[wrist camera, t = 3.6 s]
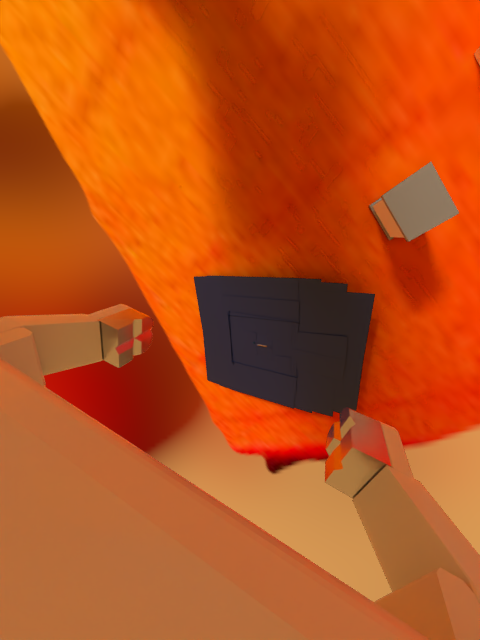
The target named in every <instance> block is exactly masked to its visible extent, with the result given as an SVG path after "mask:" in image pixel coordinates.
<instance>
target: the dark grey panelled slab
mask: <svg viewBox="0 0 480 640" xmlns="http://www.w3.org/2000/svg"><path fill="white" fill-rule="evenodd" d="M194 281H195V287H196V293H197V299H198V305H199V311H200V317H201V323H202V329H203V336H204V347H205V357H206V368H207V379H208V381H211V382H214V383H217V384H219V385H221V386H224V387H227V388H230V389H232V390H235V391H238V392H242V393H245V394H248V395H252V396H255V397H258V398H261V399H265V400H268V401H271V402H274V403H278V404H281V405H284V406H287V407H291V408H297V409H300V410H304V411H307V412H310V413H312V411H314V412H317V413H321V414H325V415H328V416H332V417H333V411H335V412H338V413H341V412H342V410H343V409H344V408H345V407H348V408H350V409H352V410H354V411H356V409H357V401H358V394H359V387H360V379H361V372H362V365H363V359H364V353H365V348H366V342H367V336H368V331H369V325H370V319H371V314H372V308H373V303H374V297H375V294H368V293H352V292H347V285H348V284H343V283H326V282H321V279H304V278H275V277H235V276H205V277H194Z"/></svg>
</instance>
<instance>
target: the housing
mask: <svg viewBox="0 0 480 640" xmlns="http://www.w3.org/2000/svg"><path fill="white" fill-rule="evenodd" d="M369 208H370V209H371V211H372V213H373V214H374V216H375V218H376V219H377V221H378V223H379V225H380V226H381V228H382V230H383V231H384V233H385V235H386V237H387V238H388V240H391V239H393V238H395V237H401V238H405V240H406V241H407V242H409V241H411V240H412V239H414V238H416V237H418V236H420V235H421V234H423V233H425V232H427V231H428V230H430V229H432V228H434V227H436V226H437V225H439V224H441V223H443V222H444V221H446V220H448V219H450V218H452V217H453V216H455V215H457V214H459V212H458V210H457V208H456V206H455V205H454V203H453V201H452V199H451V197H450V195H449V194H448V192H447V190H446V188H445V186H444V184H443V183H442V181H441V179H440V177H439V175H438V173H437V172H436V170H435V168H434V166H433V164H432V162H430V163H428V164H427V165H426V166H424V167H423V168H421V169H420V170H418V171H417V172H415V173H414V174H413V175H411V176H410V177H408V178H407V179H405V180H404V181H402V182H401V183H400V184H398V185H397V186H395V187H394V188H392V189H391V190H389V191H388V192H387V193H385V194H384V195H382V196H381V198H380V199H378V200H377V201H375V202H374V203H373V204H371V205H370V206H369Z"/></svg>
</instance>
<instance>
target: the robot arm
mask: <svg viewBox="0 0 480 640" xmlns="http://www.w3.org/2000/svg"><path fill="white" fill-rule="evenodd" d="M152 327H153V319H152V318H151V317H149V316H147V315H145V314H143V313H141V312H139V311H137V310H135V309H132V308H131V307H129V306H127V305H123V304H119V305H116V306H113V307H110V308H107V309H104V310H101V311H98V312H95V313H92V314H89V315H86V314H62V315H31V316H6V317H2V318H0V640H480V555H479V554H478V553H477V552H476V550H475V549H474V548H473V547H472V545H471V544H470V543H469V542H468V540H467V539H466V538H465V537H464V536H463V534H462V533H461V532H460V531H459V529H458V528H457V527H456V526H455V525H454V523H453V522H452V521H451V520H450V518H449V517H448V516H447V515H446V513H445V512H444V511H443V510H442V508H441V507H440V506H439V505H438V504H437V502H436V501H435V500H434V499H433V497H432V496H431V495H430V494H429V492H428V491H427V490H426V489H425V487H423V485H422V484H421V483H420V481H418V480H416V479H414V478H413V475H412V472H411V469H410V466H409V463H408V460H407V457H406V454H405V451H404V448H403V445H402V442H401V439H400V436H399V433H398V431H397V430H396V428H394V427H392V426H389V425H387V424H385V423H382V422H380V421H376V420H374V419H372V418H370V417H368V416H365V415H363V414H361V413H359V412H357V411H354V410H352V409H350V408H348V407H345V408H344V409H343V410H342V412H341V413H340V421H338V422H335V423H334V424H333V425H332V427H331V429H330V431H329V433H328V436H327V441H326V451H327V453H328V455H329V458H328V459H327V460H326V462H325V482H326V483H328V484H329V485H331V486H332V487H334V488H336V489H337V490H339V491H341V492H343V493H344V494H346V495H348V496H349V497H351V498H353V502H354V505H355V507H356V509H357V512H358V514H359V516H360V519H361V521H362V523H363V526H364V528H365V530H366V533H367V535H368V537H369V539H370V542H371V544H372V546H373V548H374V551H375V553H376V556H377V558H378V560H379V562H380V565H381V567H382V569H383V572H384V574H385V576H386V579H387V581H388V583H389V585H390V588H391V590H392V593H390V594H388V595H386V596H384V597H382V598H380V599H378V600H377V601H375V602H372V601H371V600H369V599H368V598H366V597H365V596H363V595H362V594H360V593H359V592H357V591H356V590H354V589H353V588H351V587H349V586H348V585H346V584H345V583H344V582H342V581H340V580H339V579H337V578H336V577H334V576H333V575H331V574H330V573H328V572H327V571H325V570H324V569H322V568H321V567H319V566H318V565H316V564H314V563H313V562H311V561H310V560H308V559H307V558H305V557H304V556H302V555H301V554H299V553H298V552H296V551H294V550H293V549H292V548H290V547H289V546H287V545H285V544H284V543H282V542H281V541H279V540H278V539H276V538H275V537H273V536H272V535H270V534H269V533H267V532H266V531H264V530H263V529H261V528H260V527H258V526H256V525H255V524H253V523H252V522H250V521H249V520H247V519H246V518H244V517H243V516H241V515H240V514H238V513H237V512H235V511H234V510H232V509H231V508H229V507H228V506H226V505H224V504H223V503H221V502H220V501H218V500H217V499H215V498H214V497H212V496H211V495H209V494H208V493H206V492H205V491H203V490H202V489H200V488H199V487H197V486H195V485H194V484H192V483H191V482H189V481H188V480H186V479H185V478H183V477H182V476H180V475H179V474H177V473H176V472H174V471H173V470H171V469H170V468H168V467H167V466H165V465H163V464H162V463H160V462H159V461H157V460H156V459H154V458H153V457H151V456H150V455H148V454H147V453H145V452H143V451H142V450H141V449H139V448H138V447H136V446H134V445H133V444H131V443H130V442H128V441H127V440H125V439H124V438H122V437H121V436H119V435H118V434H116V433H114V432H113V431H111V430H110V429H108V428H107V427H105V426H104V425H102V424H101V423H99V422H98V421H96V420H95V419H93V418H91V417H90V416H89V415H87V414H86V413H84V412H82V411H81V410H79V409H78V408H76V407H74V406H73V405H72V404H70V403H69V402H67V401H66V400H64V399H62V398H61V397H60V396H58V395H57V394H55V393H53V392H52V391H50V390H49V389H47V388H46V387H45V380H44V376H43V375H47V374H51V373H55V372H59V371H63V370H67V369H71V368H75V367H79V366H83V365H87V364H90V363H95V362H99V361H102V359H103V360H105V361H106V362H108V363H110V364H112V365H114V366H116V367H118V368H119V367H121V366H123V365H124V364H126V363H128V362H129V361H131V360H132V359H133V357H134V355H139V354H142V353H143V352H145V351H146V350H147V349H148V348H149V346H150V345H151V343H152V339H153V335H152V333H151V330H150V329H151V328H152Z"/></svg>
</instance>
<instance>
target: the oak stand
mask: <svg viewBox="0 0 480 640" xmlns="http://www.w3.org/2000/svg"><path fill="white" fill-rule="evenodd" d="M474 55H475V57H476V59H477V61H478V63H479V65H480V47H479V48H478V49H477V51H476V52H475V53H474Z"/></svg>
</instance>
